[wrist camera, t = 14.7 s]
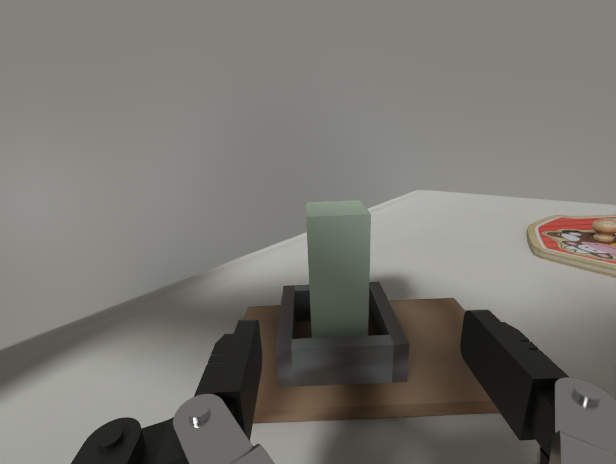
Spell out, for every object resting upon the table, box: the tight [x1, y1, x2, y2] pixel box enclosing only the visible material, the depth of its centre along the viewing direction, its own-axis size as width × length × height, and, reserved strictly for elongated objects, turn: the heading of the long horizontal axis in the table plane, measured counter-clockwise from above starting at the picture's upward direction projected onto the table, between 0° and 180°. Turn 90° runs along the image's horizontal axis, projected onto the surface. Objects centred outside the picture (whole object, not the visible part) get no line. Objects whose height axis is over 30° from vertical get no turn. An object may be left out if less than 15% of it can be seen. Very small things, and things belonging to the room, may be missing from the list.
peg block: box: [306, 200, 371, 338], centre depth 23 cm, size 4×4×11 cm
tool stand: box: [244, 282, 500, 423], centre depth 25 cm, size 20×12×4 cm, turn 91°
